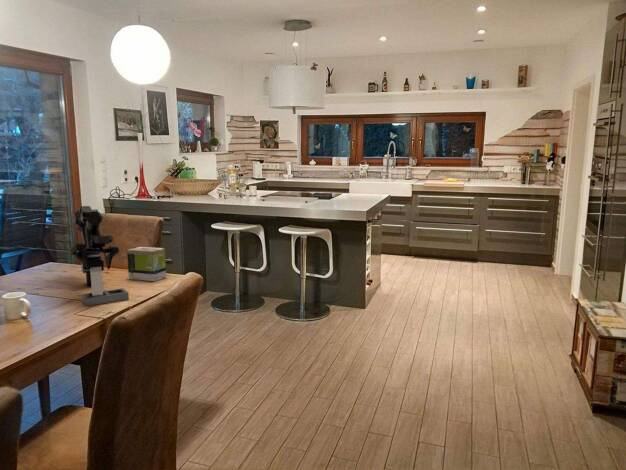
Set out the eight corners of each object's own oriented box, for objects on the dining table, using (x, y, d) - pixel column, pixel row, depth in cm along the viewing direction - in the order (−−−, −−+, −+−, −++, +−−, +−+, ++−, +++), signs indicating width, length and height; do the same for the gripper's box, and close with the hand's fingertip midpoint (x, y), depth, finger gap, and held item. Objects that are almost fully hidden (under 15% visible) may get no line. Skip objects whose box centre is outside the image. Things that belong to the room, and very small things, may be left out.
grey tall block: (92, 301, 197) (90, 267, 195) (103, 299, 199) (100, 266, 197) (93, 303, 193) (90, 269, 191) (103, 302, 195) (101, 268, 193)
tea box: (166, 277, 237) (165, 247, 235) (153, 282, 228) (152, 251, 225) (141, 274, 242) (140, 245, 240) (127, 279, 232) (126, 249, 230)
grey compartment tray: (82, 301, 196) (82, 294, 196) (123, 295, 206) (122, 288, 205) (87, 306, 190) (86, 299, 190) (128, 299, 200) (128, 292, 199)
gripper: (80, 225, 197) (85, 259, 192) (123, 229, 212) (128, 261, 206) (68, 236, 203) (72, 270, 198) (110, 240, 218) (115, 272, 212)
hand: (98, 268), depth 203 cm, fingers open, 9 cm apart
